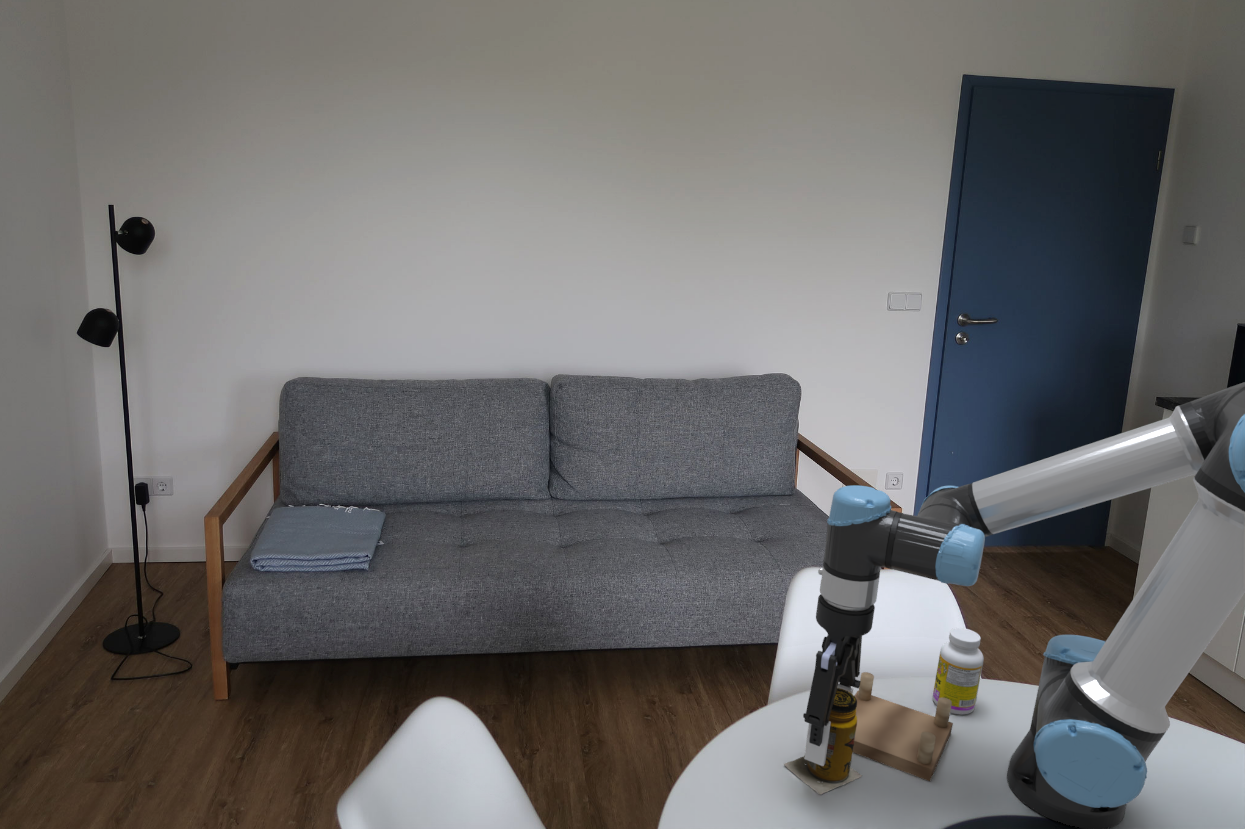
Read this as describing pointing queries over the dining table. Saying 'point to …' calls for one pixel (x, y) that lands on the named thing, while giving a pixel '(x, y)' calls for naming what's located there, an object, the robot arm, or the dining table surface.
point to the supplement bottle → (959, 671)
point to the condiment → (833, 749)
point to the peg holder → (900, 732)
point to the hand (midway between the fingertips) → (826, 743)
